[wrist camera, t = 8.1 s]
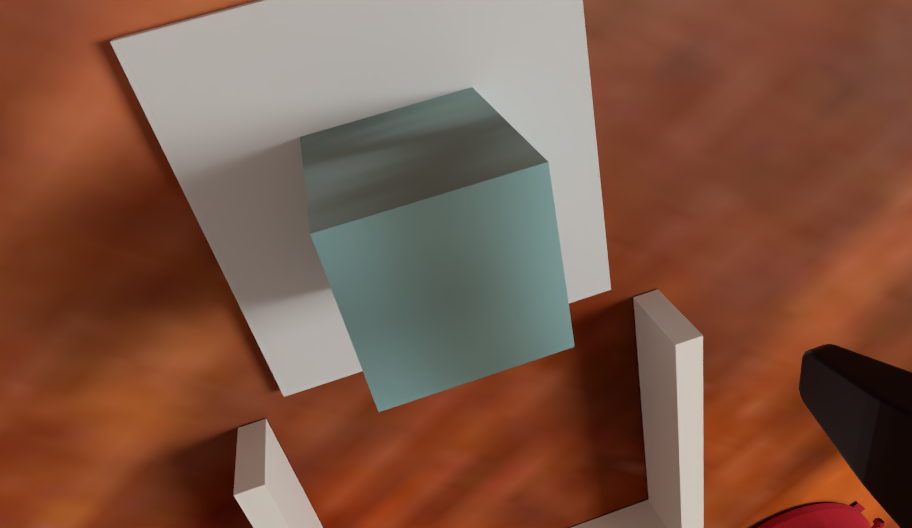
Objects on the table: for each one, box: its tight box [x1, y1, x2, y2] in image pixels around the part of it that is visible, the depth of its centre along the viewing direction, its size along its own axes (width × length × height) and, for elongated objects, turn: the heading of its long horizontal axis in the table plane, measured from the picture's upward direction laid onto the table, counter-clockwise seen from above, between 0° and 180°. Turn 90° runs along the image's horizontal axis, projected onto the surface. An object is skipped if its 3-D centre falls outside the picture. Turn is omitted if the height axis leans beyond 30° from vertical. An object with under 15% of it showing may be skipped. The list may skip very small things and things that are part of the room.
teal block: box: [300, 87, 575, 412], centre depth 17 cm, size 5×5×6 cm
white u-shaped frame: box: [233, 289, 704, 528], centre depth 25 cm, size 16×13×3 cm
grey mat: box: [110, 0, 611, 397], centre depth 19 cm, size 12×12×1 cm
